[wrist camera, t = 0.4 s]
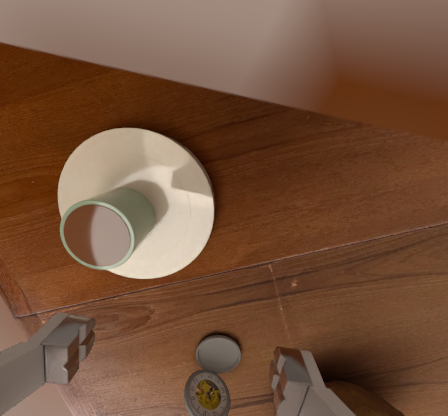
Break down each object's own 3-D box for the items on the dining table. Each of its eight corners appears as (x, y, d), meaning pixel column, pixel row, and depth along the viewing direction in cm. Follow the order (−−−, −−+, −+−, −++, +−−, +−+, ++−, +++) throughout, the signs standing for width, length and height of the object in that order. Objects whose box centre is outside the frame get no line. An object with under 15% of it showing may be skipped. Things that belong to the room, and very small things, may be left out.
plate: (76, 111, 25) (60, 108, 23) (230, 150, 26) (230, 150, 24) (67, 252, 30) (54, 261, 28) (198, 281, 31) (196, 292, 29)
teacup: (99, 181, 25) (60, 191, 19) (159, 195, 25) (139, 210, 19) (94, 243, 27) (56, 269, 21) (149, 255, 27) (128, 285, 21)
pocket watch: (236, 329, 33) (240, 405, 23) (245, 372, 35) (252, 458, 25) (182, 336, 33) (164, 414, 24) (194, 379, 36) (182, 465, 26)
